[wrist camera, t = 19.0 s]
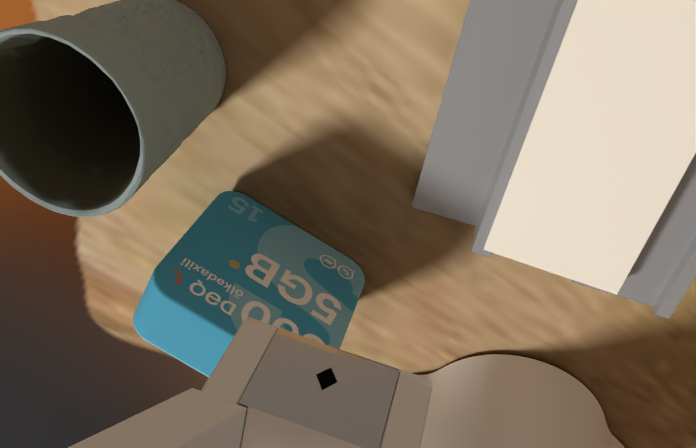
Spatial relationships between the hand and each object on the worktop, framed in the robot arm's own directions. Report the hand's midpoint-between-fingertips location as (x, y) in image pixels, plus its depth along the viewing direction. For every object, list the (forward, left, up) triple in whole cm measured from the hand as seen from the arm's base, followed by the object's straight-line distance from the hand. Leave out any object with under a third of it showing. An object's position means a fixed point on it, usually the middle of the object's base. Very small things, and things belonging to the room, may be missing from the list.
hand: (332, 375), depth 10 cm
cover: (-3, -8, -26) cm, 27 cm away
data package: (-21, +8, -30) cm, 38 cm away
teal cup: (-9, +18, -30) cm, 37 cm away
